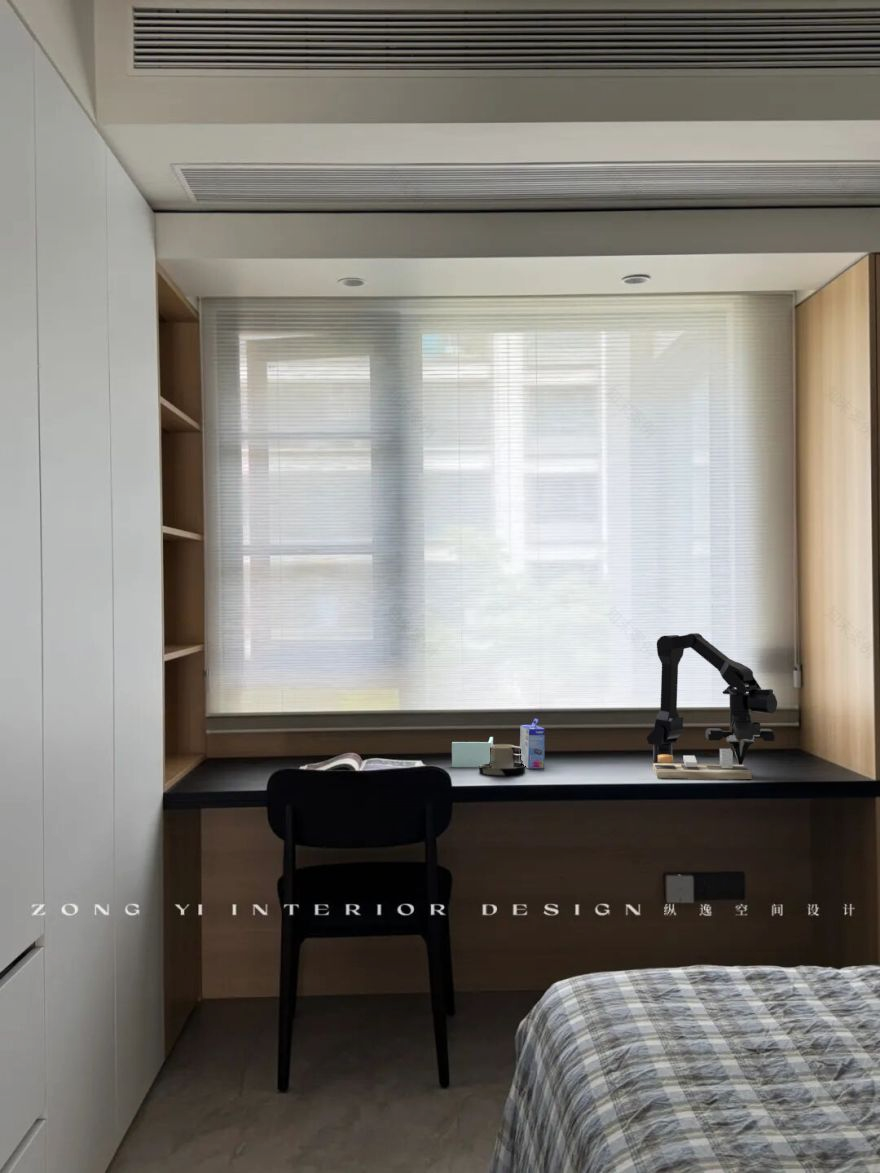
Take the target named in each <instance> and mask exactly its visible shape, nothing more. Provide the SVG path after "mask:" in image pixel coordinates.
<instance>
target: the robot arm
mask: <svg viewBox="0 0 880 1173" xmlns="http://www.w3.org/2000/svg"><path fill="white" fill-rule="evenodd" d="M690 648H691V649H692V650H693V651H694V652H696V653H697V654H698V655H699V656H701V657H702V658H703V659H705V661H707V662H708V663H709V664H710V665H712V666H713V667H714V668H715V669H716V670H717V671H718V672H719V673H720V676H721V678H722V679H723V680H724V681H725V683H726V684H727V685H728V686H727V687H726V688H725V689H724V690H723V691H722V694H723V695H729V730H727V731H725V730H722V729H721V728H720V727H719V728H717V727H715V728H714V727H713V728H711V727H710V728H709V727H708V728H706V730H705V738H706V740H708V741H721V740H722V739H723V738H725V741H726V742H727V743H728V744H730V745H731V748H732V749H733V750H732V751H733V752H734V755H735V758H736V760H737V764H739V765H742V764H743V763H744V760H745V756H746V754H747V752H748V750H749V748H750V746H751V745H754V744H756V742H755V741H754V740H755V739H762V740H763V741H764V742H776V733H775V732H774V730H772V729H771V728H761V722H759V721H752V720H751V712H753V713H762V714H771V715H772V714H774V713H775V712H776V711H777V707H778V700H777V697H776V695H775V694H774V690H773V689H772V688H768V689H764V688H762V687H761V686H760V684H759V682H758V681H757V680H756V678H755V676H754V672H753V670H751V668H750V667H748V666H746V665H744V664H743V663H741V662H738V661H736V660H733V659H731V658H729V657H728V656H726V654H724V653H723V652H722V651H720V650H719V649H718V648H716V646H714V645H713V644H711V643H710V642H709V641H708V640H706V638H704V637H703V636H702V634H700V633H698V632H695V633H692V632H691V633H687V634H685V635H683V634H682V635H677V634H676V635H675V634H672V635H671V634H670V635H662V636H660V637H659V638H658V639H657V640H656V651H657V656H658V658H659V661H660V663H661V676H660V677H661V680H660V707H659V708H660V710H659V711H658V713H657V716H656V717H655V721H654V727H653V730H652V731H651V732H650V733H649V734H648V735H647V736H646V740H647V744H648V745H652V746H653V748H652V752H653V753H652V755H653V757H652V759H650V760H651V761H650V762H652V763H651V764H653V763H660V762H658V755H661V754H668V755H673V744H676V743H678V739H679V736H681V734H682V731H684V729H685V728H684V725H683V724H684V716H680V715H679V712H678V709H677V708H678V707H677V706H678V705H677V704H678V702H677V701H678V682H679V681H678V679H679V678H678V677H679V676H678V675H679V664H680V662H681V660H682V658H683V656H684V653H685V652H684V651H685V649H690ZM673 763H675V761H673Z"/></svg>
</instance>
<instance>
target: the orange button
mask: <svg viewBox="0 0 880 1173" xmlns="http://www.w3.org/2000/svg"><path fill="white" fill-rule="evenodd" d="M658 762H660V763H673V762H674V755H673V754H672V755H668V754H661V755H658Z"/></svg>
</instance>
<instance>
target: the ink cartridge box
mask: <svg viewBox="0 0 880 1173" xmlns="http://www.w3.org/2000/svg"><path fill="white" fill-rule="evenodd" d="M538 723H539V719H538V718H534V719H533V721H532V723H531V724H521V725H520V730H519V731H520V733H519V734H520V735H519V736H520V737H519V750H520V749H521V760H522V761H523V763H524V764H525V766H526V767H525V766H524V767H525V768H526V769H530V770H534V769H535V770H536V769H539V770H541V769H545V745H546V744H545V742H546V741H545V737H546V735H545V733H546V732H545V731H546V728H544V727H541V726H539V725H538Z"/></svg>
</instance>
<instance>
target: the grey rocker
mask: <svg viewBox="0 0 880 1173" xmlns="http://www.w3.org/2000/svg"><path fill="white" fill-rule="evenodd" d="M682 756H683V759H682V761H683V763H684V764H685V766H686V767H697V764H698V760H697V758H696V756H695V755H682Z"/></svg>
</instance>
